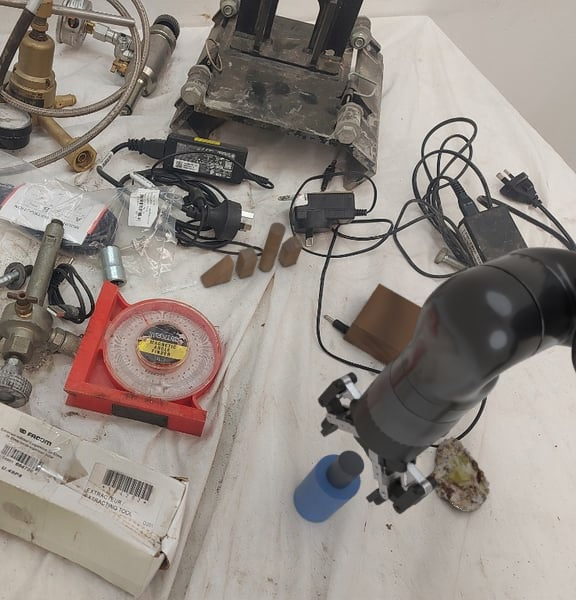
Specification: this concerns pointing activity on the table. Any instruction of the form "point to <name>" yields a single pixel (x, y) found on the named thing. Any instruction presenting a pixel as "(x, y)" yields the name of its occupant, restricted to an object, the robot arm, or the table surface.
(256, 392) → the table surface
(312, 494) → the bottle
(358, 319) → the walnut block
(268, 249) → the wood blocks
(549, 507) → the table surface
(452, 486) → the mineral rock
